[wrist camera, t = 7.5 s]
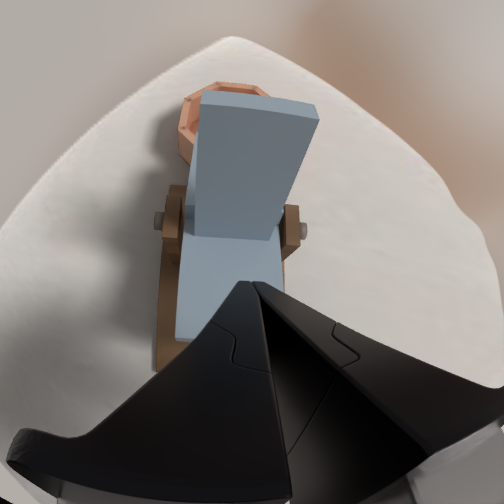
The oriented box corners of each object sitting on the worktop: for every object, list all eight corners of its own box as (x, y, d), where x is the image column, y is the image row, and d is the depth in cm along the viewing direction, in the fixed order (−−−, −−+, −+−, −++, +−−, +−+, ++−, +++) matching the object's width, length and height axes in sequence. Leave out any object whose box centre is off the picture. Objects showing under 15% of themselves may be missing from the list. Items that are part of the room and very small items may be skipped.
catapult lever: (271, 351, 16) (380, 263, 6) (179, 349, 15) (147, 249, 6) (261, 179, 22) (300, 48, 13) (194, 174, 22) (205, 35, 12)
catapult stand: (282, 374, 20) (315, 389, 14) (157, 371, 18) (138, 388, 12) (281, 196, 24) (307, 153, 18) (170, 187, 22) (163, 139, 16)
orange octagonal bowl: (277, 187, 24) (289, 166, 21) (175, 179, 22) (172, 155, 19) (275, 113, 26) (283, 89, 23) (188, 105, 25) (188, 79, 22)
